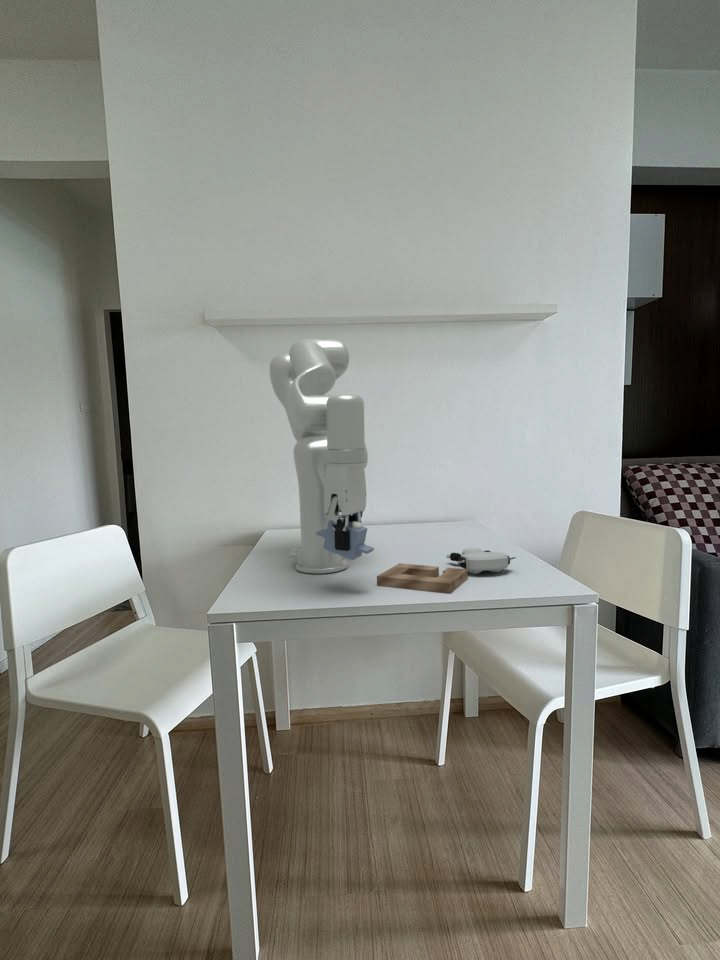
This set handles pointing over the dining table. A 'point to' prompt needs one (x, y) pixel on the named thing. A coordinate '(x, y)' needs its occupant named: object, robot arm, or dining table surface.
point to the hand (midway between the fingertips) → (348, 546)
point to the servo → (355, 540)
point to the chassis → (422, 578)
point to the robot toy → (481, 560)
